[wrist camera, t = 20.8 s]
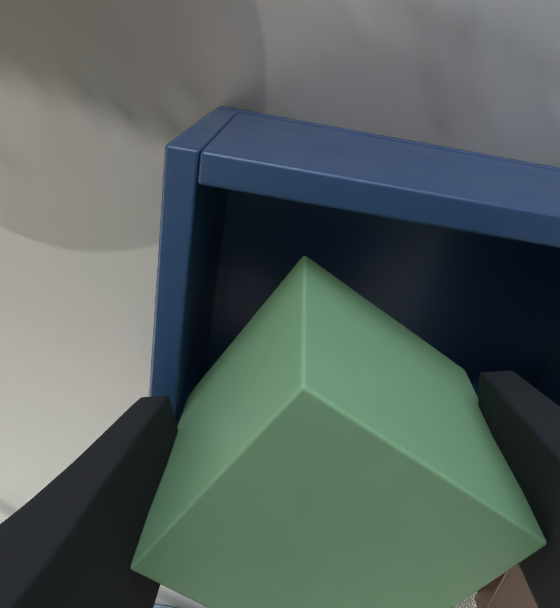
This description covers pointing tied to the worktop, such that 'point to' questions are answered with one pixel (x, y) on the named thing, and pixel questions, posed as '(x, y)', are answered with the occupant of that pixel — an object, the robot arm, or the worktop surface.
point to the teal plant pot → (161, 606)
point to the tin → (355, 243)
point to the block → (333, 468)
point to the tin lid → (506, 592)
